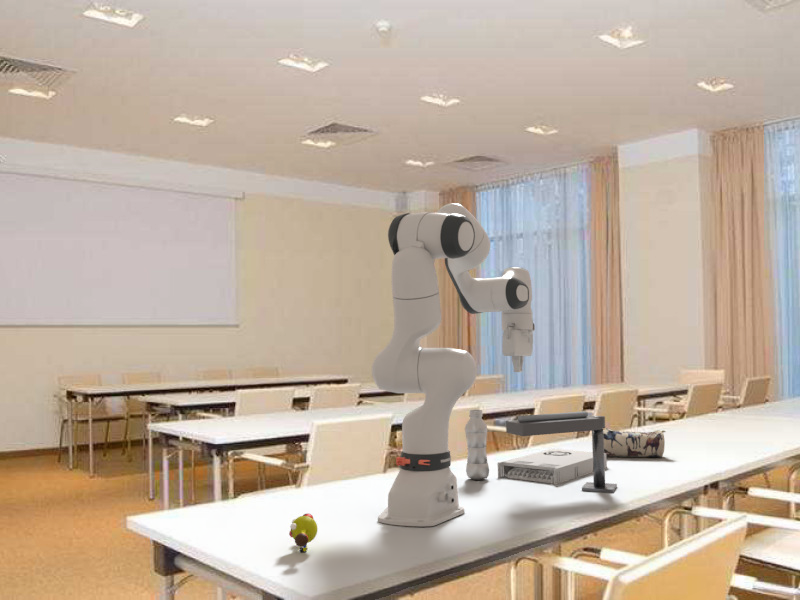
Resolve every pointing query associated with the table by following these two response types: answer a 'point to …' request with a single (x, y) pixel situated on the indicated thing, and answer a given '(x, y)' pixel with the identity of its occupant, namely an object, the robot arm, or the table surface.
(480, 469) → the plastic bottle
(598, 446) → the post
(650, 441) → the pencil case
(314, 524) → the toy figure
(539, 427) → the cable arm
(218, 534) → the table surface
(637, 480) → the table surface
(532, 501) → the table surface
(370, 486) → the table surface
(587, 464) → the power supply unit
